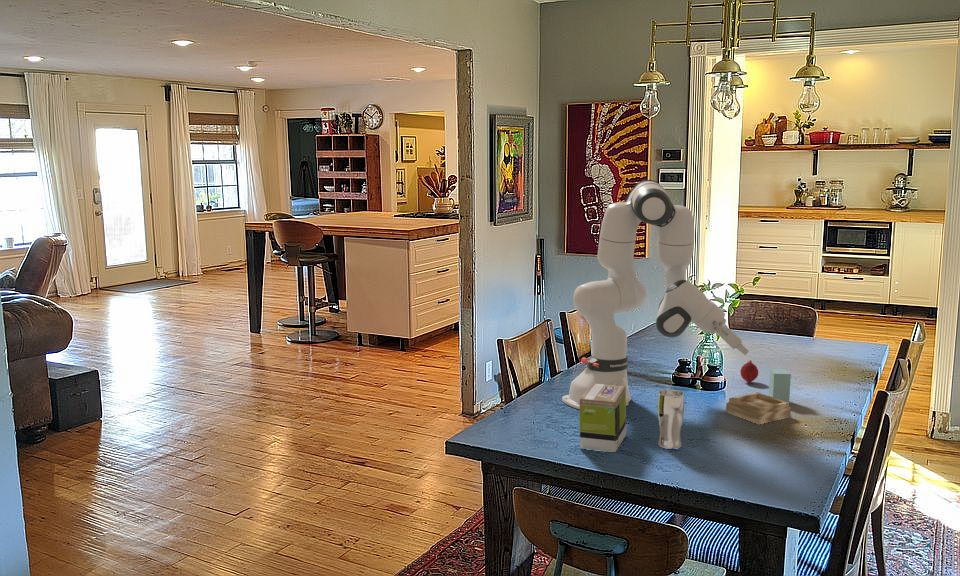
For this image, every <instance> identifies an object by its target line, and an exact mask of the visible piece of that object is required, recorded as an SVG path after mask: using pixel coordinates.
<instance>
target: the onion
mask: <svg viewBox="0 0 960 576" xmlns="http://www.w3.org/2000/svg"><path fill="white" fill-rule="evenodd" d="M740 376H741V378H742V379H743V380H744V381H745V382H747V383H749V384H750V383H752V382H753V381H755V380H756V379H757V378H758V376H759V368H758V367H757V366H756V364H754V363H753V362H752V360H751V359H748V360H747V362H746V363H744V364H743V365H742V366H741V368H740Z"/></svg>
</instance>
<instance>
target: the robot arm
mask: <svg viewBox="0 0 960 576" xmlns="http://www.w3.org/2000/svg"><path fill="white" fill-rule="evenodd" d="M603 215H604V216H603V218H602V221H601V227H600V232H599V240H598V248H597V254H596V255H597V258H596V259H597V261H598V263H599V264H600V266H601V267H603V268H604V269H606V270H607V279H603V280H593V281H589V282H585V283H584V284H583V283H582V284H580V285H578V286H577V287H576V288H575V290H574V292H573V295H572V303H573V306H574V308H575V310H576V311H577V312H578V314H579V315H581V316H582V318H584V319H585V321H586V322H587V324H588V326H589V329H590V333H591V334H590V335H591V355H590V357H589V358H587V357H582V358H581V359H580V363H581V364H584V365H587V366H586V368H585V369H584V370H583V371H582V372H581V373H580V374H579V375H577V376H576V377H575V378H574V379H573V380H572V381H571V383H570V385H569V386H570V387H569V392H568V393H569V394H565V395H563V396H562V397H561V401H562V403H565V405H567V406H569V407H572V408H574V409H577V410H580V398H581V397H582V396H583V395H584V393H585V392H586V391H587V390H588V388H589V387H590V386H591V385H592V384H593V383H594V384H605V385H618V386H626V407H628V406H629V404H630V403H629V402H631V400H632V397H631V394H630V393H631V392H630V389H629V382H628V371H627V370H628V368H629V357H628V355H627V353H628V351H627V350H628V349H627V348H628V347H627V346H628V344H627V343H628V335H627V332H626V331H625V329H624V328H622V327H621V326H619V325H618V324H616V321H615V314H621V313H629V312H632V311H635V310H637V309H640V308H641V307H643V305H645V303H646V299H647V289H646V287H645V285H644V284H643V281H641V280H640V279H639V278H638V277H637V275H636V272H635V268H634V267H635V266H634V255H635V248H636V247H635V246H636V241H637V240H636V239H637V238H636V237H637V231H638V227H639V225H640V224H641V222H643V223H644V224H648V225H652V226H655V227H657V239H656V240H657V242H656V243H657V244H656V245H657V246H656V248H657V251H656V252H657V258H658V262H659V264H660V265H661V266H662V267H663V268H664V273H665V274H664V275H665V279H664V281H665V282H664V294H663V296H662V297H663V298H662V299H661V300H660V302H659V304H658V310H657V315H656V320H655V327H656V329H657V331H658V332H659V334H660V335H662V336H664V337H667V338H672V339H673V338H677V337H678V336H679V337H680V335H682V334H683V333H684V332H685V330H686V329H687V327H688V326H689V325H690V324H691V323H693V324H694V325H695V326H696V327H697V328H698V329H699V330H701V331H702V332H703V333H704V334H708V333H709V334H711V335H714V334H715V335H717V336H719V337H720V338H721V339H722V340H723V341H724V342H725V343H726V344H727V345H728V346H729V347H730V348H732V349H737V350H738V351H739V352H741V353H742V354H743V355H744V356H746V355H747V354H748V353H749V351H750V350H749V349H747V348H746V347H745V345H744V344H743V340H742V339H741V338H740V337H739V336H738V335H737V334H736V333H735V332H734V331H732V329H731V328H730V327H728V326H727V324H726V323H727V319H726V318H725V316H726V313H725V312H724V311H723V310H722V309H721V308H720V307H719V306H718V305H717V304H716V303H714V302H713V301H711V300H710V299H708V298H707V296H706V294H705V293H704V292H703V291H702V290H701V289H699V288H698V287H697V286H696V285H694V283H692V282H690V281H689V280H686V272H687V269H688V267H689V266H690V264H691V262H692V258H693V254H694V247H695V223H694V222H695V221H694V216H693V212H692V210H690V209H689V207H687V206H684V205H680V204H673V203H672V200H671V199H670V197H669V194H668V193H667V191H666V189H665V188H664V186H662V185H661V183H660V182H658V181H655V180H652V179H643V180H641V181H639V182H637V183H636V184H635V185H634V186H633V188H632V189H631V190H630V192H629V193H628V194H627V195H626V197H625V198H624V202H623V201H622V202H621V201H620V202H618V201H617V202H613V203H611V204H609V205H608V206H607V208H606V209H605V212H604V214H603Z"/></svg>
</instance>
